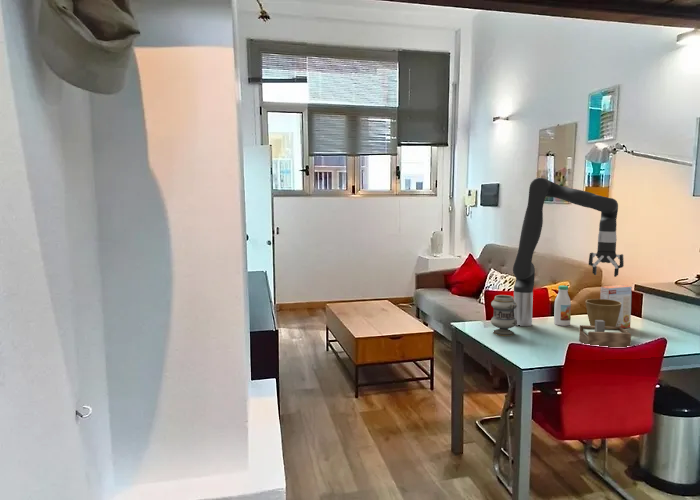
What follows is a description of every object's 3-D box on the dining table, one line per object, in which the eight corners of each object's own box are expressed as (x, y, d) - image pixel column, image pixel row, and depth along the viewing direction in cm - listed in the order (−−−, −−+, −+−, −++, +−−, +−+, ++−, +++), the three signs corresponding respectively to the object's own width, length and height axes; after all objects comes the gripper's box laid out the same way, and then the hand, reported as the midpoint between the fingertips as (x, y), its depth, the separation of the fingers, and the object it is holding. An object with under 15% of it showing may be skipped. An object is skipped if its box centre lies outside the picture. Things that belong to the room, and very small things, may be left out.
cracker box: (620, 325, 242) (622, 284, 240) (630, 327, 236) (632, 286, 235) (598, 327, 239) (600, 285, 237) (607, 330, 233) (609, 287, 231)
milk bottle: (553, 325, 243) (555, 286, 241) (553, 321, 250) (555, 284, 248) (570, 326, 240) (571, 287, 238) (569, 323, 247) (571, 285, 245)
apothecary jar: (489, 329, 236) (489, 293, 234) (514, 330, 233) (515, 294, 232) (491, 336, 224) (492, 298, 222) (518, 337, 222) (519, 299, 220)
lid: (590, 336, 203) (590, 323, 202) (583, 330, 213) (583, 317, 212) (626, 338, 200) (627, 324, 200) (617, 332, 210) (618, 318, 210)
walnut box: (588, 349, 202) (588, 332, 202) (579, 340, 215) (579, 325, 214) (630, 350, 199) (631, 334, 199) (618, 342, 212) (619, 326, 211)
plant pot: (587, 329, 234) (588, 297, 233) (621, 333, 226) (623, 300, 224) (581, 336, 222) (583, 302, 220) (618, 341, 213) (619, 306, 212)
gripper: (588, 240, 222) (586, 275, 223) (623, 242, 213) (621, 278, 215) (591, 239, 228) (590, 273, 229) (625, 241, 219) (623, 276, 221)
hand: (605, 275), depth 222 cm, fingers open, 8 cm apart
